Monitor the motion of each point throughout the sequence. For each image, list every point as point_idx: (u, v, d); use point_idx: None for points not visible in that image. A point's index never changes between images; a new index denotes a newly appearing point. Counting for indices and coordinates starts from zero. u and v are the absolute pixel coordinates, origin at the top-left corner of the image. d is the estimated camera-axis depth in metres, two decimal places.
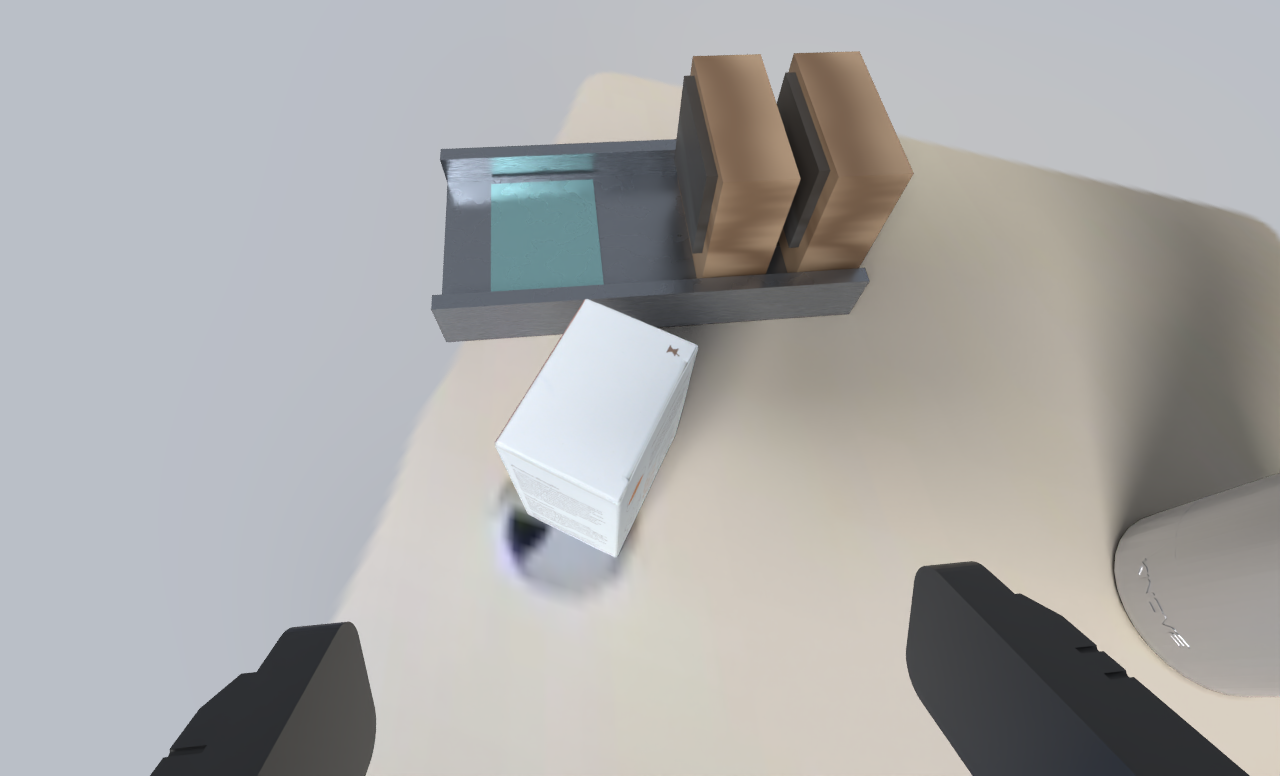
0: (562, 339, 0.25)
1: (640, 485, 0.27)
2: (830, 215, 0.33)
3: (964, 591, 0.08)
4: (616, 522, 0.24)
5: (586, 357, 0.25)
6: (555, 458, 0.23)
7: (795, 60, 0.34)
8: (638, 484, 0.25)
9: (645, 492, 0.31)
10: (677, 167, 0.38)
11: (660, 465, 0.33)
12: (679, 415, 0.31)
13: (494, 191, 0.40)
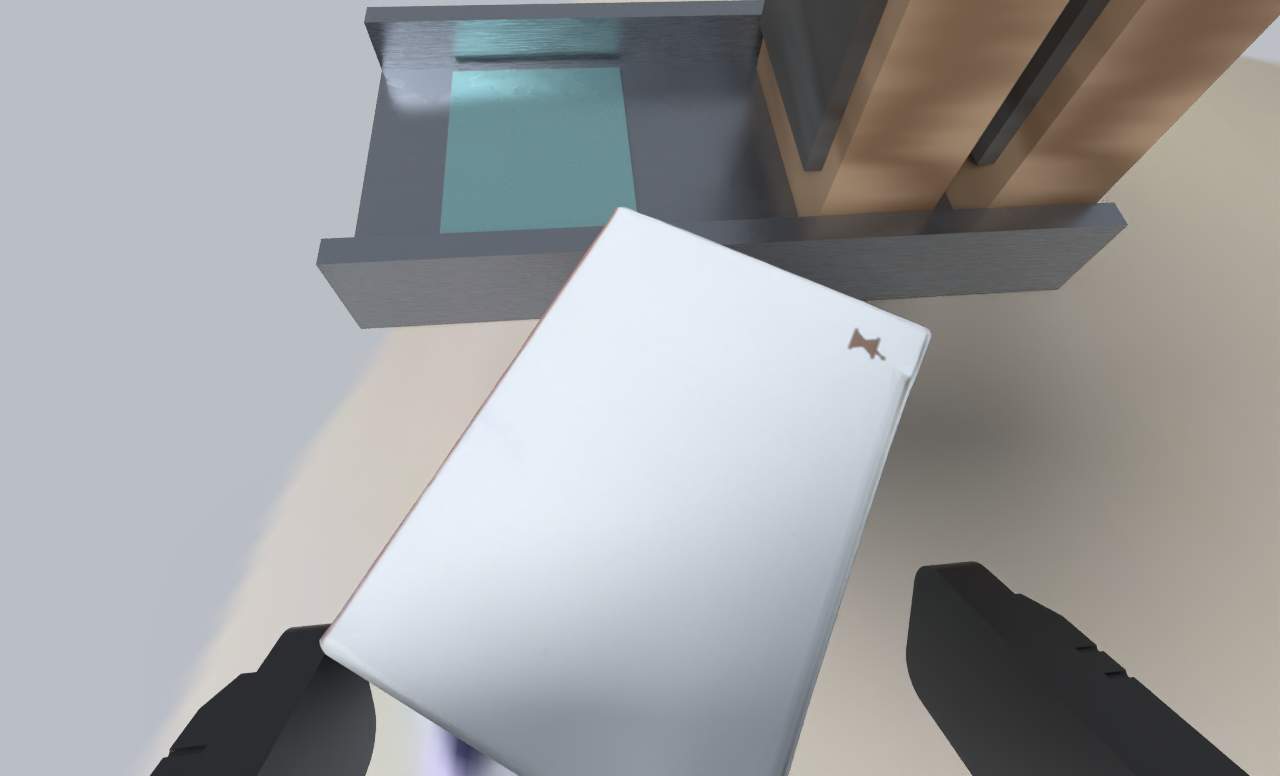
0: (555, 309, 0.09)
1: None
2: (1101, 79, 0.16)
3: (964, 591, 0.08)
4: None
5: (621, 361, 0.09)
6: (518, 709, 0.07)
7: None
8: None
9: None
10: (767, 32, 0.22)
11: None
12: None
13: (457, 82, 0.24)
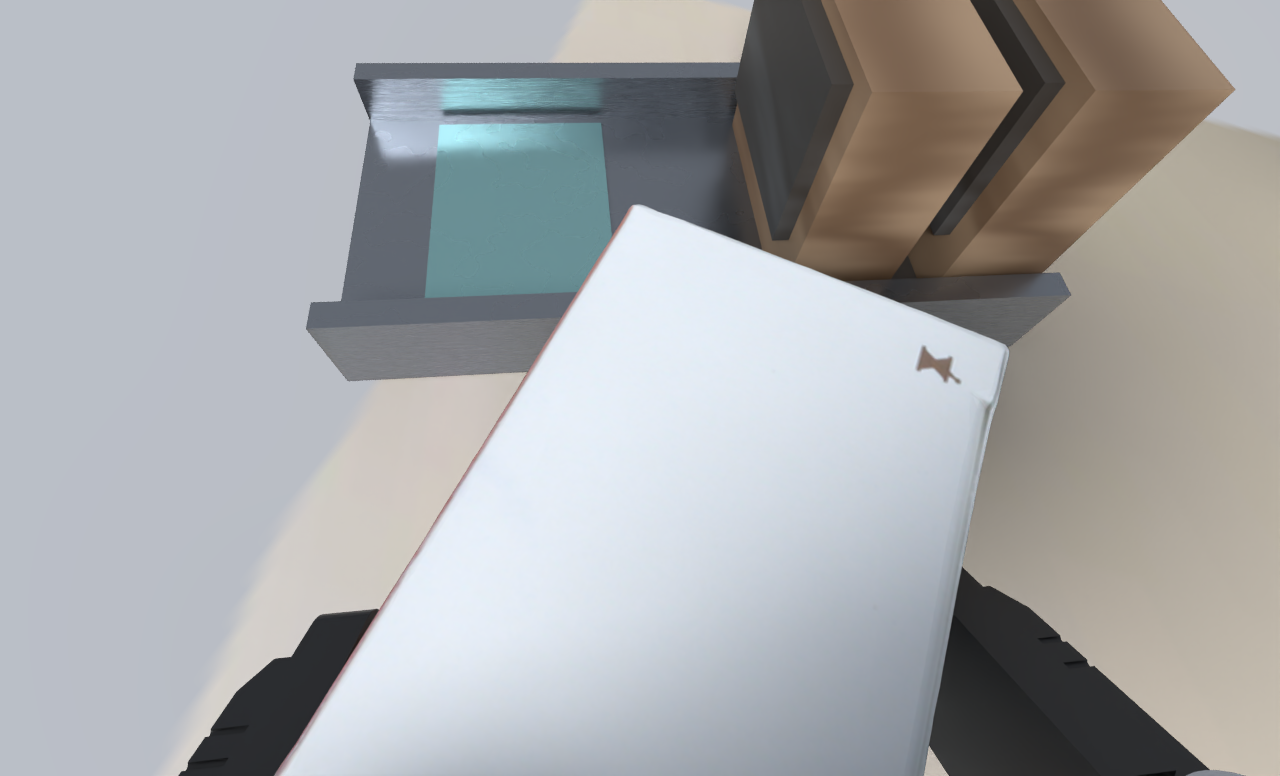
0: (564, 328, 0.07)
1: None
2: (1042, 173, 0.18)
3: None
4: None
5: (650, 392, 0.07)
6: None
7: None
8: None
9: None
10: (741, 100, 0.23)
11: None
12: None
13: (443, 136, 0.25)
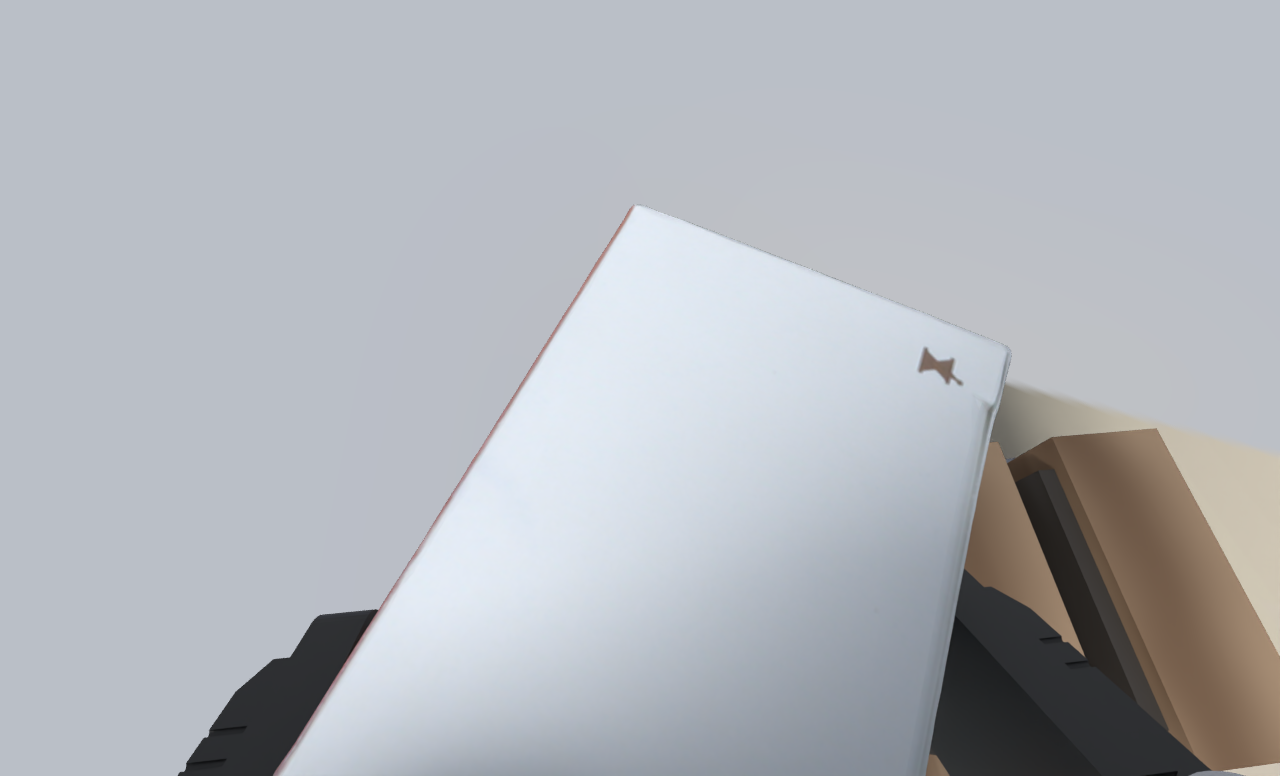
0: (564, 328, 0.07)
1: None
2: None
3: None
4: None
5: (650, 393, 0.07)
6: None
7: (1056, 451, 0.21)
8: None
9: None
10: None
11: None
12: None
13: None
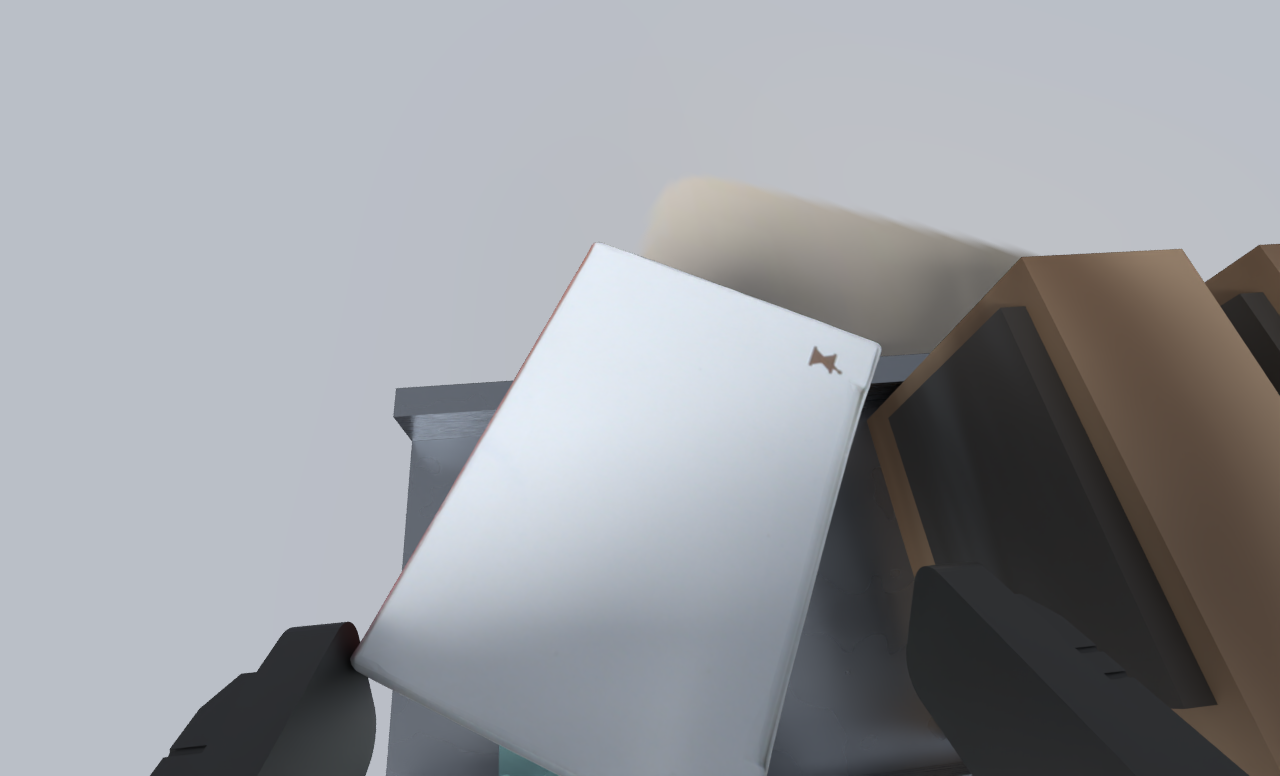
0: (543, 341, 0.10)
1: None
2: None
3: (964, 591, 0.08)
4: None
5: (607, 388, 0.09)
6: (535, 706, 0.07)
7: (1268, 264, 0.14)
8: None
9: None
10: (906, 449, 0.18)
11: None
12: None
13: None
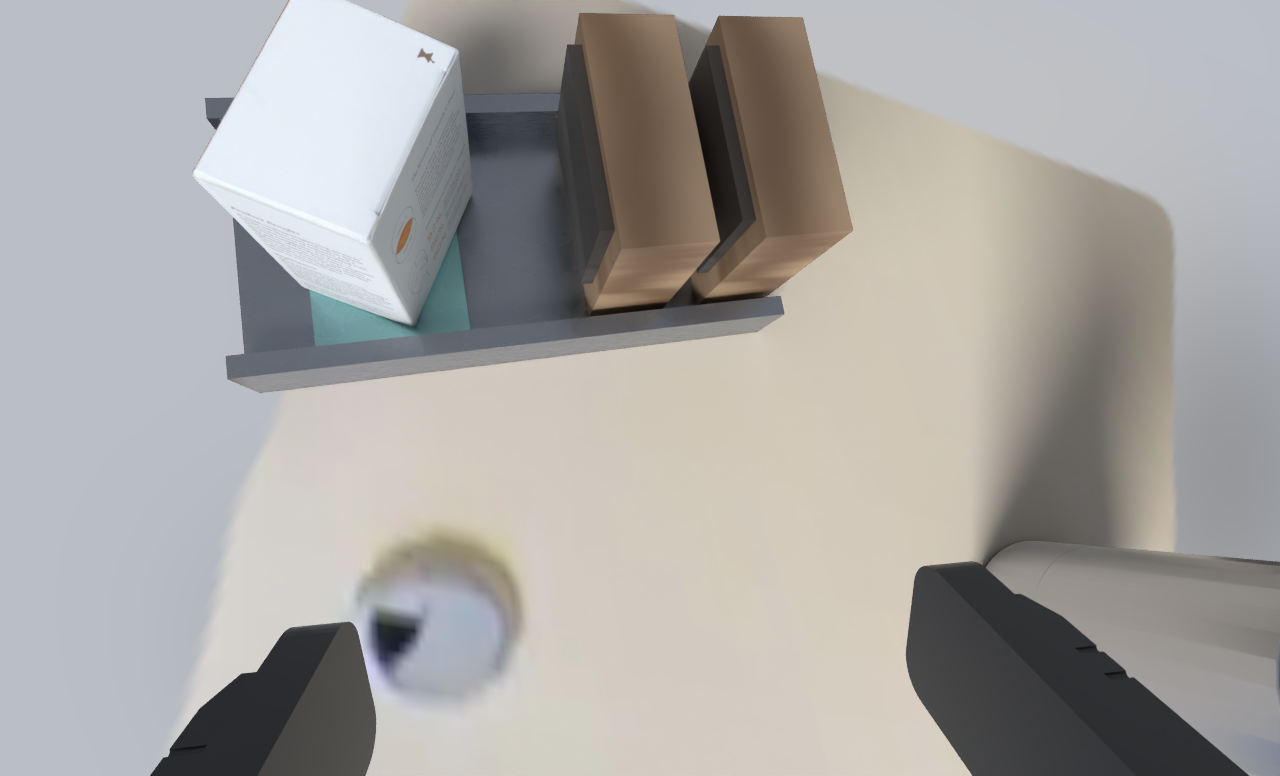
0: (271, 36, 0.19)
1: (414, 234, 0.23)
2: (750, 262, 0.26)
3: (964, 591, 0.08)
4: (382, 272, 0.21)
5: (307, 61, 0.19)
6: (278, 190, 0.18)
7: (720, 28, 0.25)
8: (407, 230, 0.22)
9: (437, 253, 0.28)
10: (559, 149, 0.29)
11: (456, 224, 0.29)
12: (465, 159, 0.26)
13: None
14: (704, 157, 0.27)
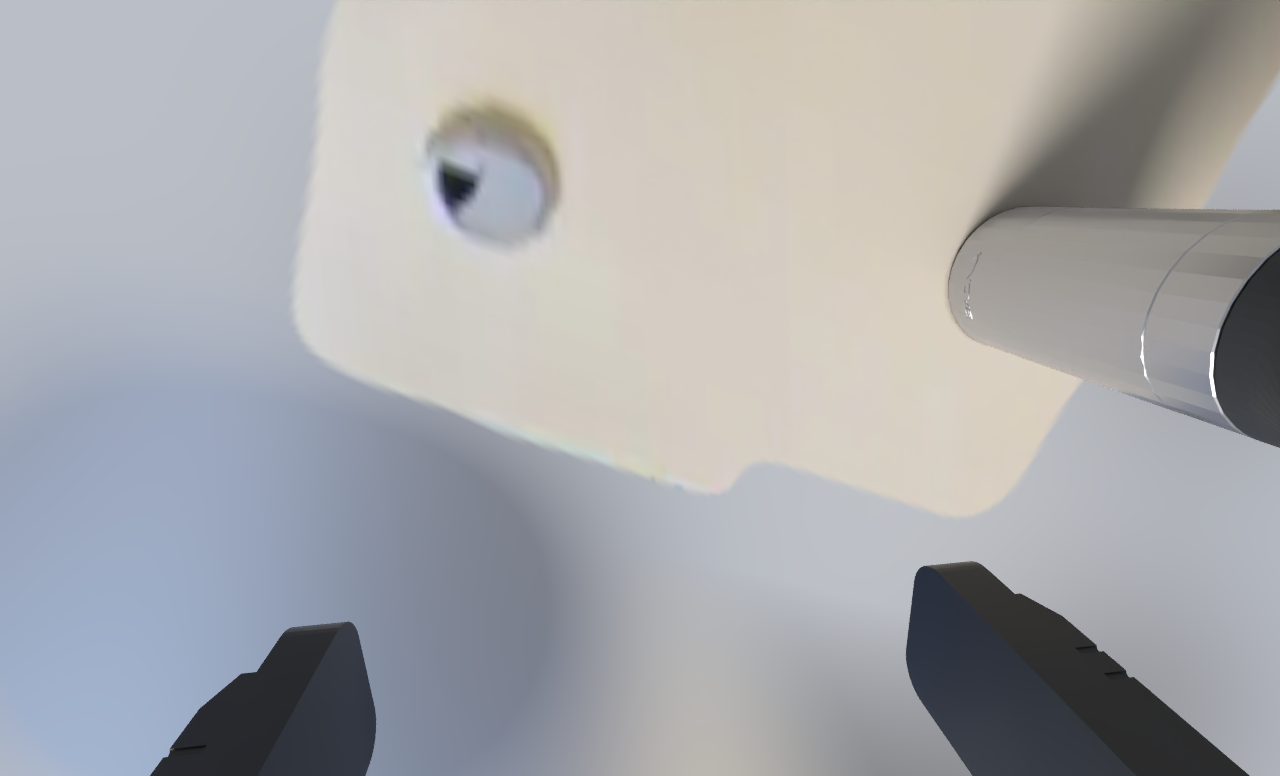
0: None
1: None
2: None
3: (964, 591, 0.08)
4: None
5: None
6: None
7: None
8: None
9: None
10: None
11: None
12: None
13: None
14: None
